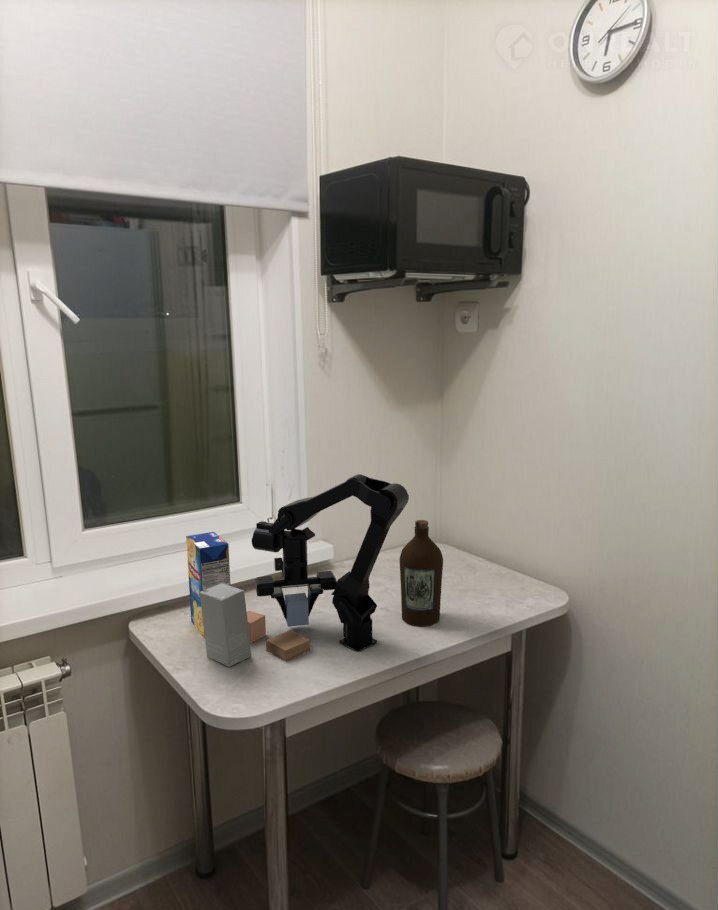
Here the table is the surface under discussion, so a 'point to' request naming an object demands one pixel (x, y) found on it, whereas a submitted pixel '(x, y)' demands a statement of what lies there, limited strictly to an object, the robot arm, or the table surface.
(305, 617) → the slate block
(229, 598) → the skincare box
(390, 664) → the table surface
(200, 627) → the beverage box
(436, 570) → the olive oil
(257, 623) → the terracotta block
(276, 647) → the walnut slab
